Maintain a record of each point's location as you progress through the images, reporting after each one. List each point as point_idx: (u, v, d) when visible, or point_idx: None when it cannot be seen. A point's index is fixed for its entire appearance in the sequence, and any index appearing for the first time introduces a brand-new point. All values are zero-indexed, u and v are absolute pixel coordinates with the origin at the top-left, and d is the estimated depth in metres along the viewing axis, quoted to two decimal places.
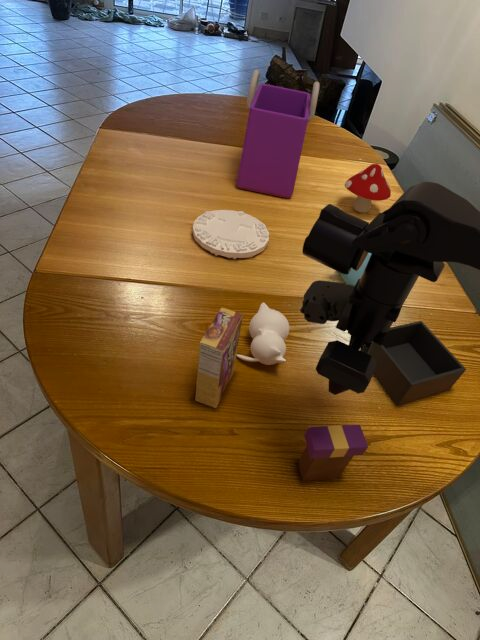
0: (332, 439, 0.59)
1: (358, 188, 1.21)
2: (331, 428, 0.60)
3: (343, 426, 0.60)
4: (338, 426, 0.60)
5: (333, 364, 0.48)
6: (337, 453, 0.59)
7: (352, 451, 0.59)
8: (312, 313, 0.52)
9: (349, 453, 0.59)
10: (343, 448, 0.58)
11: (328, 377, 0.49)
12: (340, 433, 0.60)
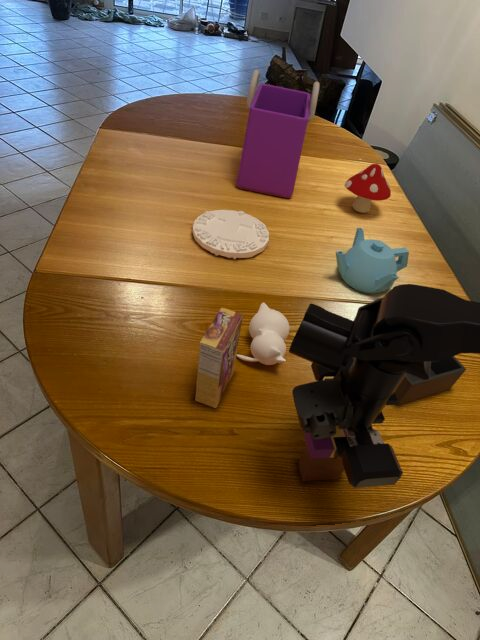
0: (332, 439, 0.59)
1: (358, 188, 1.21)
2: None
3: None
4: None
5: (370, 476, 0.47)
6: None
7: None
8: (321, 432, 0.49)
9: None
10: None
11: (365, 486, 0.49)
12: (340, 433, 0.60)
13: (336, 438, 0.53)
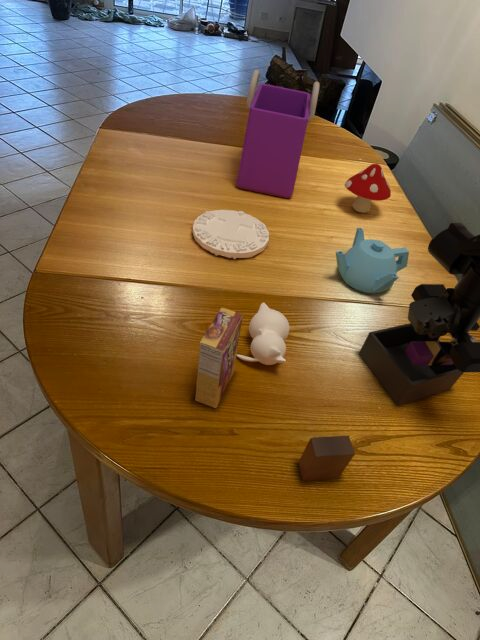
0: (430, 350, 0.75)
1: (358, 188, 1.21)
2: (428, 343, 0.76)
3: (437, 342, 0.77)
4: (433, 341, 0.77)
5: (476, 361, 0.64)
6: None
7: None
8: (438, 331, 0.65)
9: None
10: None
11: (470, 371, 0.65)
12: (435, 346, 0.76)
13: (441, 342, 0.70)
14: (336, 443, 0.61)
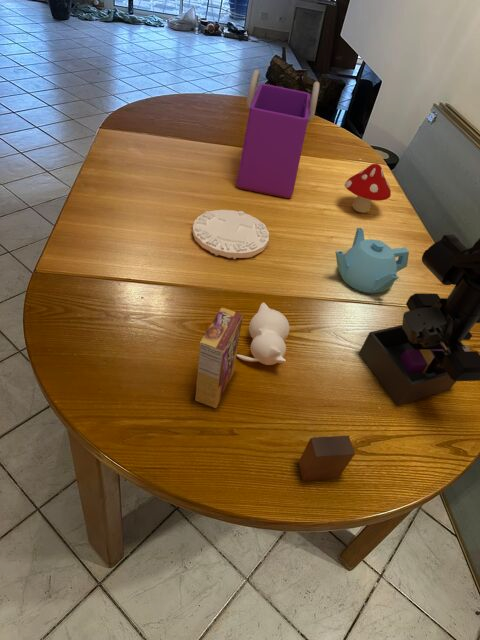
0: (424, 358, 0.77)
1: (358, 188, 1.21)
2: (422, 351, 0.78)
3: (431, 350, 0.79)
4: (427, 349, 0.79)
5: (468, 371, 0.66)
6: None
7: None
8: (431, 341, 0.67)
9: None
10: None
11: (463, 380, 0.67)
12: (429, 354, 0.78)
13: (434, 351, 0.72)
14: (336, 443, 0.61)
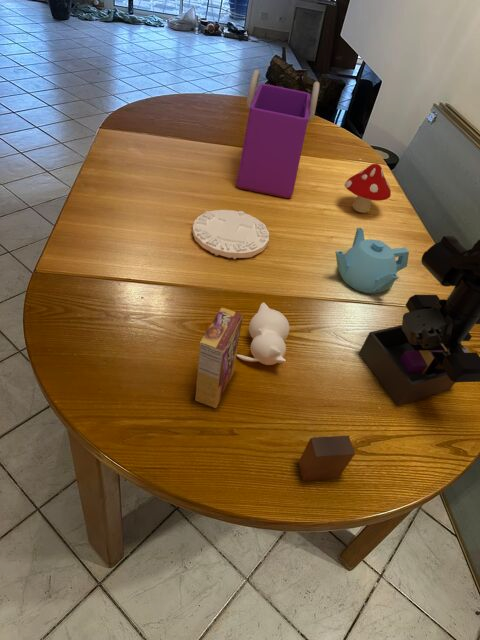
0: (424, 359, 0.77)
1: (358, 188, 1.21)
2: (422, 352, 0.78)
3: (430, 351, 0.79)
4: (427, 350, 0.79)
5: (468, 372, 0.66)
6: None
7: None
8: (430, 342, 0.67)
9: None
10: None
11: (462, 381, 0.67)
12: (429, 355, 0.78)
13: (434, 352, 0.72)
14: (336, 443, 0.61)
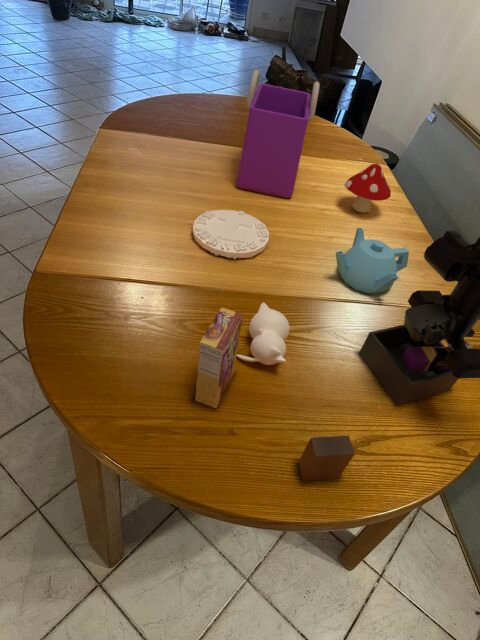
0: (427, 355, 0.76)
1: (358, 188, 1.21)
2: (424, 348, 0.77)
3: (433, 347, 0.78)
4: (429, 347, 0.78)
5: (471, 368, 0.65)
6: None
7: None
8: (433, 338, 0.66)
9: None
10: None
11: (465, 377, 0.66)
12: (431, 351, 0.77)
13: (437, 348, 0.71)
14: (336, 443, 0.61)
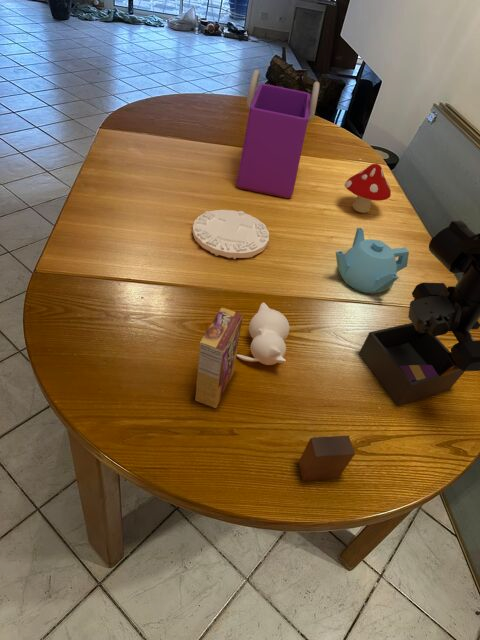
0: (414, 373, 0.80)
1: (358, 188, 1.21)
2: (412, 367, 0.81)
3: (420, 366, 0.82)
4: (416, 365, 0.82)
5: (477, 360, 0.64)
6: None
7: None
8: (438, 330, 0.65)
9: None
10: None
11: (471, 370, 0.65)
12: (418, 370, 0.81)
13: (449, 353, 0.68)
14: (336, 443, 0.61)
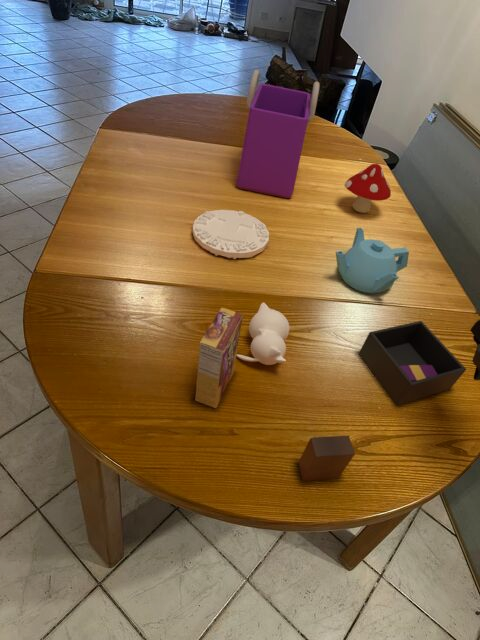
0: (414, 373, 0.80)
1: (358, 188, 1.21)
2: (412, 367, 0.81)
3: (420, 366, 0.82)
4: (416, 365, 0.82)
5: None
6: None
7: None
8: None
9: None
10: None
11: None
12: (418, 370, 0.81)
13: None
14: (336, 443, 0.61)
